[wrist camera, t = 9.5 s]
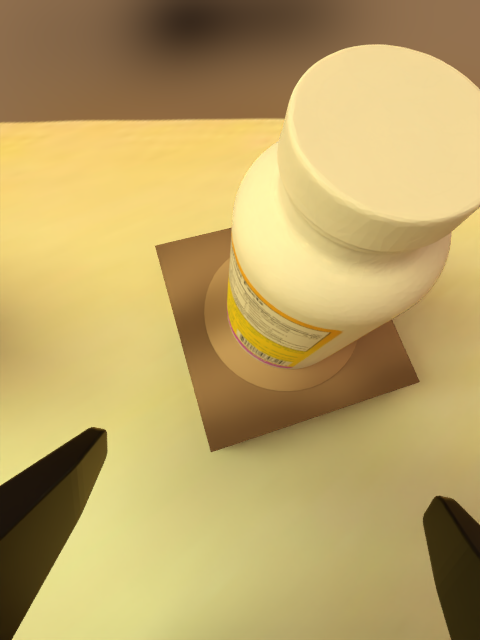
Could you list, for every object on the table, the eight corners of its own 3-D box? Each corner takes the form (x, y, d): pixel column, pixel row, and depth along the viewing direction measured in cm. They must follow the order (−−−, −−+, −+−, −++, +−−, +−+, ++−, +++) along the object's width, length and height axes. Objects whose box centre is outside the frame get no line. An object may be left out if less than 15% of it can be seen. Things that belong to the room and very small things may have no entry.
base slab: (396, 386, 21) (420, 381, 19) (211, 448, 19) (211, 452, 17) (326, 223, 24) (339, 201, 22) (161, 264, 22) (154, 245, 20)
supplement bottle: (324, 253, 20) (487, 3, 8) (354, 359, 19) (621, 243, 6) (215, 269, 20) (215, 18, 7) (236, 381, 18) (281, 297, 6)
